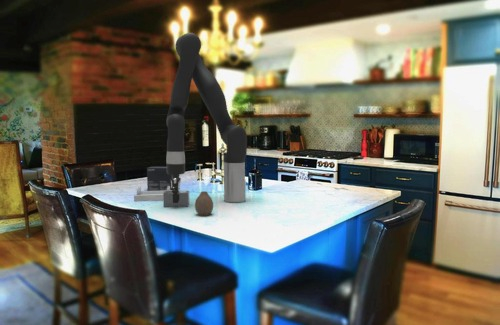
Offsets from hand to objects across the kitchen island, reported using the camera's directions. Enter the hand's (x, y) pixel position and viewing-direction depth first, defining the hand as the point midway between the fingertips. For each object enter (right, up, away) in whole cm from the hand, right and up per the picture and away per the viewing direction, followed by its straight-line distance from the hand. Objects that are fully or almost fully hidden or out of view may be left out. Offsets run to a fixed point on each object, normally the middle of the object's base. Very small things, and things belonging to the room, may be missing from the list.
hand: (175, 200), depth 167 cm
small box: (-14, +2, +36) cm, 38 cm away
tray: (-13, 0, +16) cm, 20 cm away
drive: (0, -2, +1) cm, 2 cm away
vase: (+14, -4, -15) cm, 20 cm away
